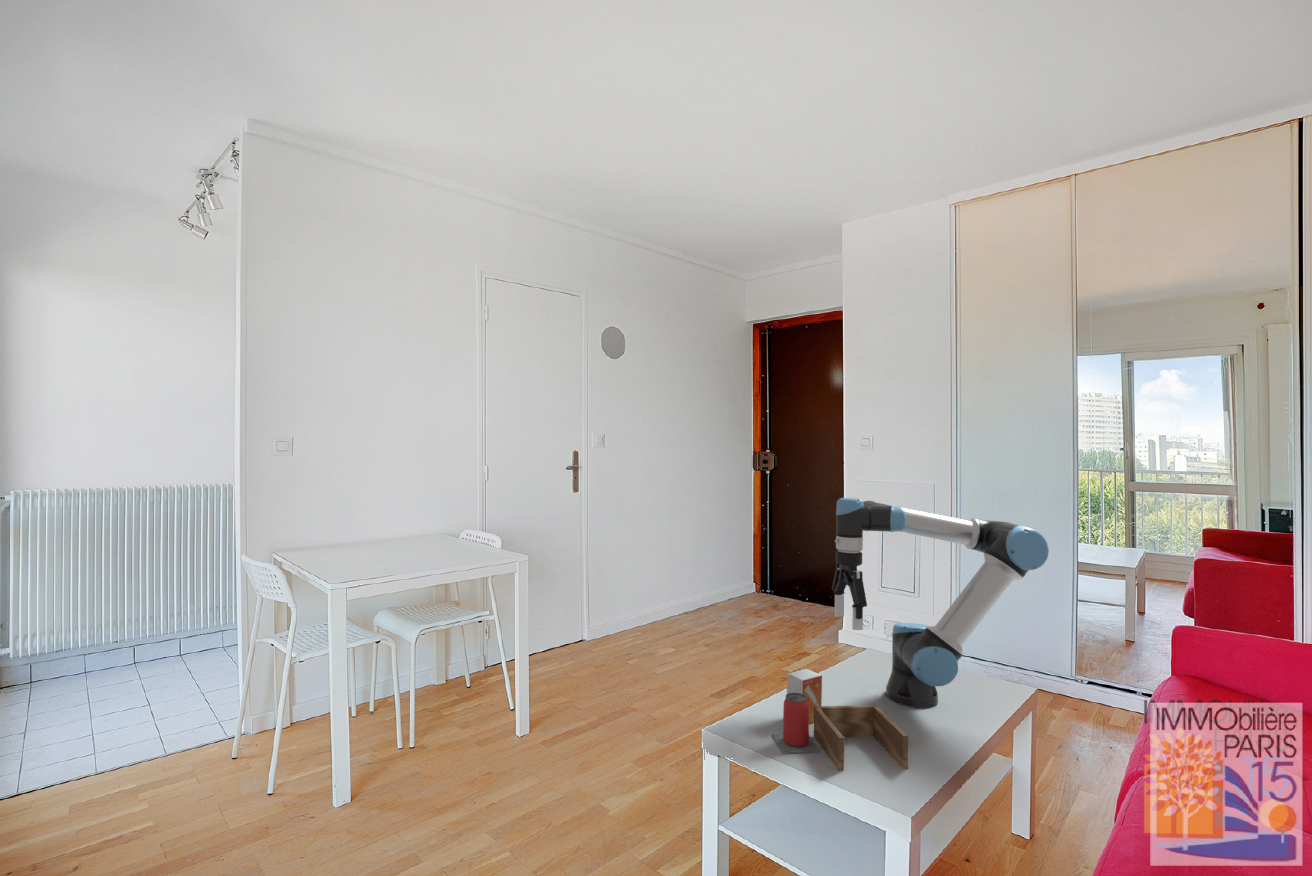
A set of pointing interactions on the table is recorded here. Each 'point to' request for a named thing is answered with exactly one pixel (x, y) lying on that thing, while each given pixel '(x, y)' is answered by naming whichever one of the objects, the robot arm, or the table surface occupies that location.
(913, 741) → the table surface
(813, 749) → the place mat
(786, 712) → the beer can
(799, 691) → the small box
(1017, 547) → the robot arm
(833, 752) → the open wooden enclosure
